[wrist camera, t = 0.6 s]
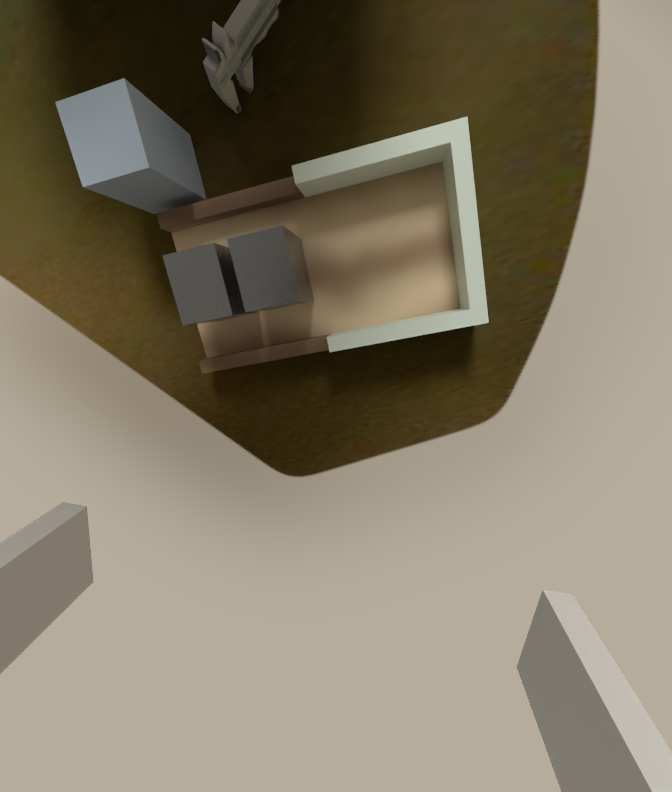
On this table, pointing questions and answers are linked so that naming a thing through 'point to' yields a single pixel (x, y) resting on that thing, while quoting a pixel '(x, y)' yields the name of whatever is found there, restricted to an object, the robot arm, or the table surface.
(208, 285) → the grey squarish block
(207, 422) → the table surface
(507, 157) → the table surface
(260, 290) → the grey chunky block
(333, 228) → the slot board
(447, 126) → the tray
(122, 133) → the grey block
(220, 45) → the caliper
